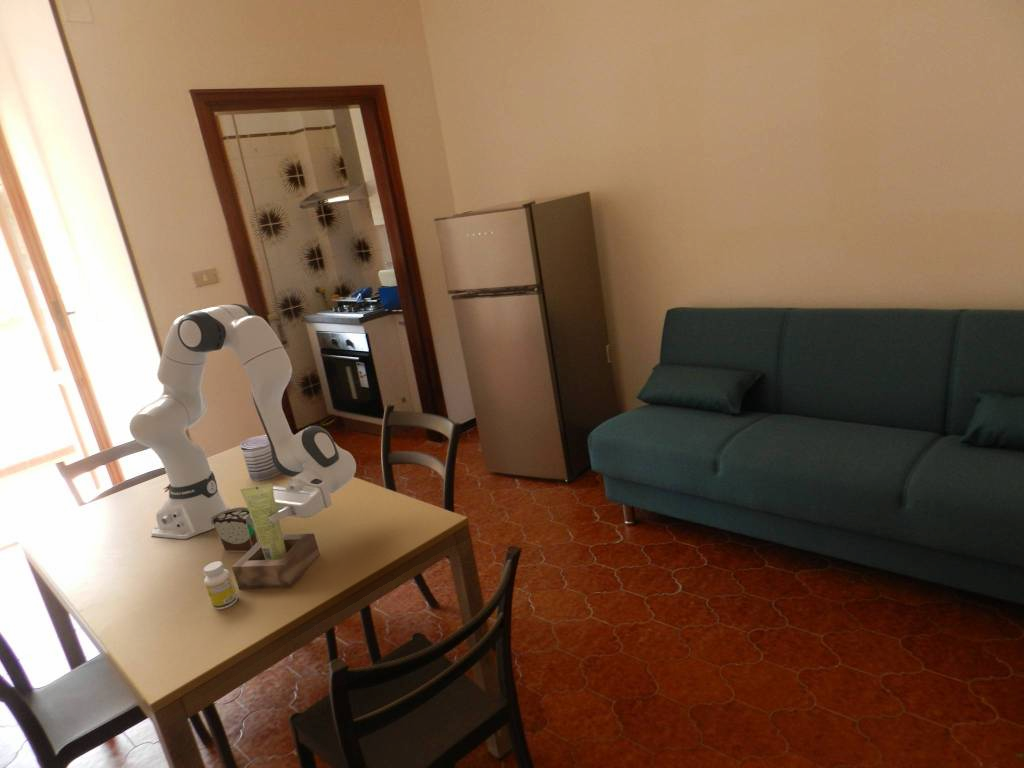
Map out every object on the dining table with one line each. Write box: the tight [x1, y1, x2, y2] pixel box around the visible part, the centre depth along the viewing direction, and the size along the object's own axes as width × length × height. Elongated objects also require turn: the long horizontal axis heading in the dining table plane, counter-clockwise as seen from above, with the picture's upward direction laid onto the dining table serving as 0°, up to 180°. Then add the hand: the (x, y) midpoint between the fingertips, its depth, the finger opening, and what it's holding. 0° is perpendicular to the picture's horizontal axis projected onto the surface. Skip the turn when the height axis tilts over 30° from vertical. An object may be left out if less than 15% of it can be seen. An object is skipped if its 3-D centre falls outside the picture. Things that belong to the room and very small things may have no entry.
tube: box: [239, 483, 287, 560], centre depth 166 cm, size 6×5×20 cm
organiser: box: [231, 532, 321, 590], centre depth 169 cm, size 14×14×6 cm
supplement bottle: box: [203, 560, 239, 611], centre depth 159 cm, size 5×5×10 cm
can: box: [239, 434, 282, 482], centre depth 234 cm, size 11×11×12 cm
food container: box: [211, 506, 258, 553], centre depth 185 cm, size 12×6×10 cm, turn 71°
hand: (261, 517), depth 165 cm, fingers closed on tube, 5 cm apart
